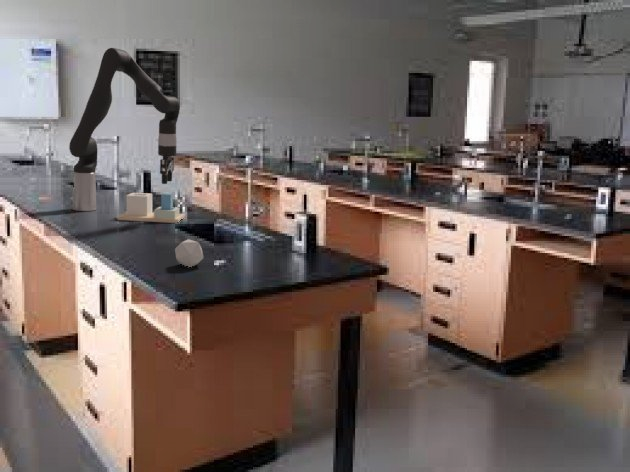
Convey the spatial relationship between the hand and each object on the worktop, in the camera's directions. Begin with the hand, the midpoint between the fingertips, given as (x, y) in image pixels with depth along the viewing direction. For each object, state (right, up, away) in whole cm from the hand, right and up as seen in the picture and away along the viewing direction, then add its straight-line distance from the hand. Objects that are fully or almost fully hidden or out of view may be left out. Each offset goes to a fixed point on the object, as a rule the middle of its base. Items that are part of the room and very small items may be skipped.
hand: (166, 182), depth 274 cm
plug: (-1, -15, +3) cm, 15 cm away
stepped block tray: (-8, -15, +5) cm, 18 cm away
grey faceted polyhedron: (+23, -33, -69) cm, 80 cm away
